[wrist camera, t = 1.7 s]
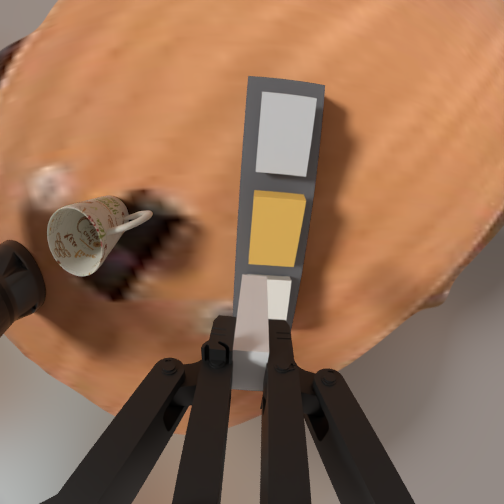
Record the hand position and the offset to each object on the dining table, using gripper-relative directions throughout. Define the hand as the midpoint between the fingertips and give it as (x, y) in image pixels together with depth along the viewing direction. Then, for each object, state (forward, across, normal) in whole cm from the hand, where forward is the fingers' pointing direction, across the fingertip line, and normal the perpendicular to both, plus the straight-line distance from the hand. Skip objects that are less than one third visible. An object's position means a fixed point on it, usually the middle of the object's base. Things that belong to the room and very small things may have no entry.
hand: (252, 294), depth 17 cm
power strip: (+19, +2, -3) cm, 19 cm away
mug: (+19, -18, -1) cm, 26 cm away
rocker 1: (+13, +2, +10) cm, 16 cm away
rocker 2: (+13, +2, 0) cm, 13 cm away
